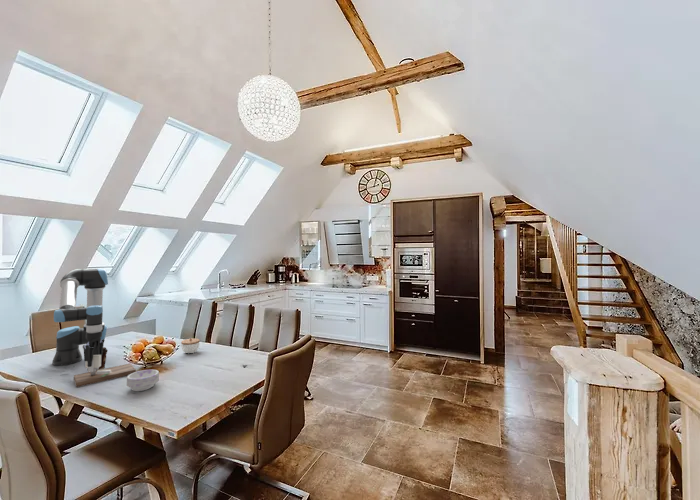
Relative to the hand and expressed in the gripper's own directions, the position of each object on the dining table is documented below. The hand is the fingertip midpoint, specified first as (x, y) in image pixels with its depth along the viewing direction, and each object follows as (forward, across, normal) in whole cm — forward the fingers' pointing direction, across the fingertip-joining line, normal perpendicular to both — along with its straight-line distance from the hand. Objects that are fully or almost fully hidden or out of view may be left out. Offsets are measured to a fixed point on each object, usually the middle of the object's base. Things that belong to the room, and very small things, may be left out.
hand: (93, 370), depth 184 cm
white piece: (+3, -1, +3) cm, 4 cm away
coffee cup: (+6, -17, -10) cm, 20 cm away
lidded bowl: (+6, -50, +33) cm, 60 cm away
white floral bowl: (+6, +10, +37) cm, 39 cm away
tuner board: (+5, -4, +4) cm, 8 cm away
